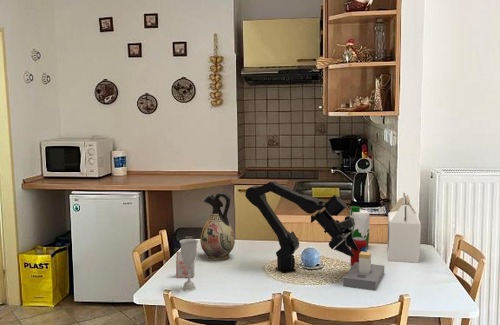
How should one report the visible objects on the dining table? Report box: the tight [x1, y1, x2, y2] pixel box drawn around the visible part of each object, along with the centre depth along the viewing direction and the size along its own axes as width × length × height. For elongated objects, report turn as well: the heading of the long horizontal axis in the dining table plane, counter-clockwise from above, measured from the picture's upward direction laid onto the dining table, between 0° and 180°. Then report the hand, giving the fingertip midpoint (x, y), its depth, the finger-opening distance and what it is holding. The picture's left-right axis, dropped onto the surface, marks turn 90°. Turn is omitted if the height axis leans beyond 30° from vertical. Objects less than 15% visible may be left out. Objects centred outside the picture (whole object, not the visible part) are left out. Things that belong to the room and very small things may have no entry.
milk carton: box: [349, 205, 371, 251], centre depth 260 cm, size 9×9×20 cm
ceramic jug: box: [199, 191, 236, 261], centre depth 242 cm, size 17×15×30 cm
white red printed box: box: [175, 251, 195, 279], centre depth 216 cm, size 4×7×10 cm, turn 88°
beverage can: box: [350, 237, 368, 267], centre depth 232 cm, size 7×7×12 cm
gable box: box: [386, 192, 422, 264], centre depth 248 cm, size 22×13×28 cm, turn 167°
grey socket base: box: [342, 262, 385, 291], centre depth 213 cm, size 12×22×4 cm, turn 158°
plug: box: [359, 251, 372, 274], centre depth 213 cm, size 4×4×11 cm
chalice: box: [179, 238, 199, 292], centre depth 202 cm, size 7×7×18 cm
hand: (355, 253), depth 214 cm, fingers open, 9 cm apart
